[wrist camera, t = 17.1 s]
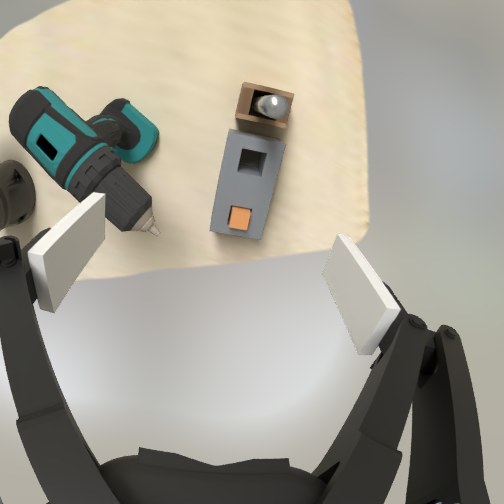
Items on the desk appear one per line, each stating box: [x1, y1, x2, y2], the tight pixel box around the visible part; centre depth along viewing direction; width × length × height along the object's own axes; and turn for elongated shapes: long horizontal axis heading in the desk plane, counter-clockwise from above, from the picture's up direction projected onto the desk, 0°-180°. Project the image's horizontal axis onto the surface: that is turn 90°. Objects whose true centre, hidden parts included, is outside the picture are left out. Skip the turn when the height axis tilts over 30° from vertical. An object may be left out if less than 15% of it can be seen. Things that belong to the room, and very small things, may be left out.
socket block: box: [210, 129, 286, 240], centre depth 50 cm, size 9×17×7 cm, turn 167°
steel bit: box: [253, 94, 289, 119], centre depth 39 cm, size 3×3×18 cm
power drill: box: [9, 86, 160, 236], centre depth 37 cm, size 26×9×25 cm, turn 44°
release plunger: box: [229, 205, 251, 230], centre depth 51 cm, size 3×3×8 cm
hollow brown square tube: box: [235, 82, 294, 128], centre depth 44 cm, size 8×6×6 cm
